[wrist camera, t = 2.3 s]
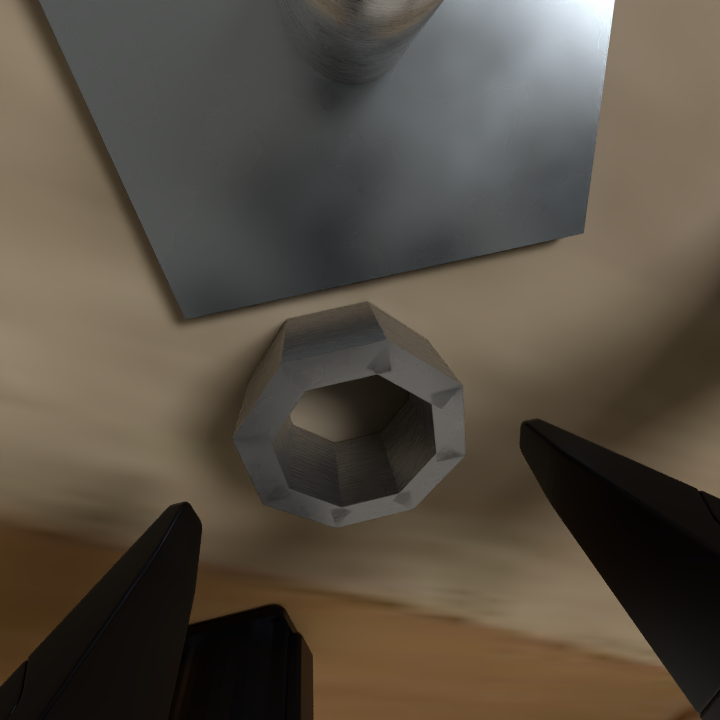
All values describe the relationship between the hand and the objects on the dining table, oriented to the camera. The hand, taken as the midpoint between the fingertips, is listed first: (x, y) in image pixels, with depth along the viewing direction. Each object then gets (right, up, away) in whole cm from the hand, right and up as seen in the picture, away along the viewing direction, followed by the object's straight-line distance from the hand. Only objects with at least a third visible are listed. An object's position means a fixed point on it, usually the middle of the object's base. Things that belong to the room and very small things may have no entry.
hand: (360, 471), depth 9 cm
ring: (-1, +2, +3) cm, 4 cm away
